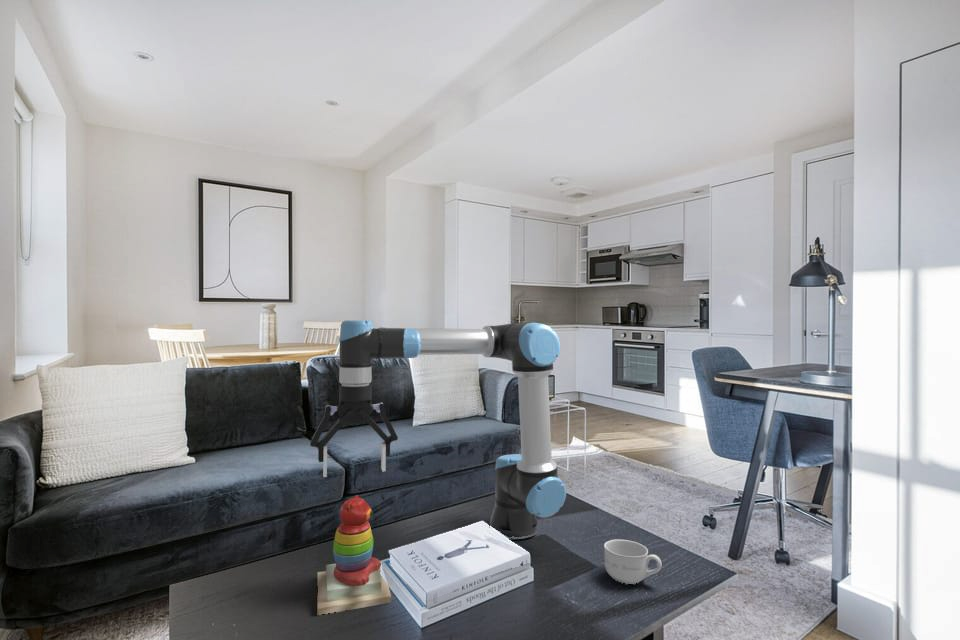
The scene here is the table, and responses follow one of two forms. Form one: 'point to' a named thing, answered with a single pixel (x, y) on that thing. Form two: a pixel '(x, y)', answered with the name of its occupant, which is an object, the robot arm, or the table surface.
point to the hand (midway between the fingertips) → (354, 472)
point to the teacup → (628, 561)
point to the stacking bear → (354, 544)
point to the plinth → (351, 601)
